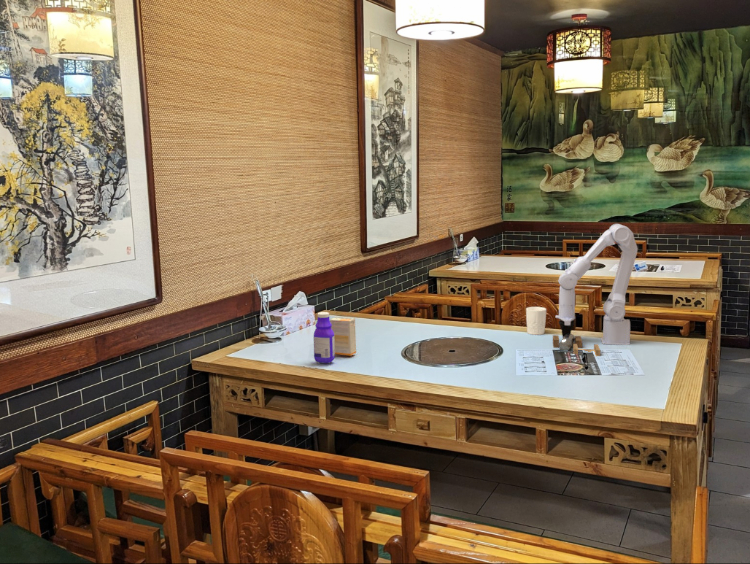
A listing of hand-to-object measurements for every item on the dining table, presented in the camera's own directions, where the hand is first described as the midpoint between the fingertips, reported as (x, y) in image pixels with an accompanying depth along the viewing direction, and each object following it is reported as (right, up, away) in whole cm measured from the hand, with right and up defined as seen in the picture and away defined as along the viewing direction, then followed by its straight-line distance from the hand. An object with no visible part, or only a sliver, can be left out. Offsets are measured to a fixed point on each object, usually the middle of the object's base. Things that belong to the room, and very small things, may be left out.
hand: (566, 339), depth 254 cm
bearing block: (-1, -2, -5) cm, 6 cm away
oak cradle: (+2, -4, -16) cm, 17 cm away
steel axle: (-1, -2, -7) cm, 8 cm away
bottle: (-90, -6, -18) cm, 92 cm away
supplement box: (-84, -5, -8) cm, 84 cm away
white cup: (-8, +1, +16) cm, 18 cm away
